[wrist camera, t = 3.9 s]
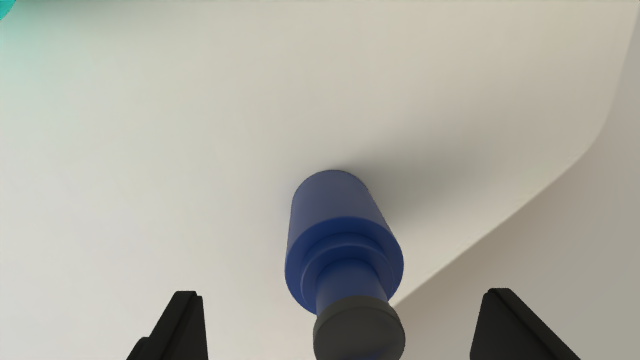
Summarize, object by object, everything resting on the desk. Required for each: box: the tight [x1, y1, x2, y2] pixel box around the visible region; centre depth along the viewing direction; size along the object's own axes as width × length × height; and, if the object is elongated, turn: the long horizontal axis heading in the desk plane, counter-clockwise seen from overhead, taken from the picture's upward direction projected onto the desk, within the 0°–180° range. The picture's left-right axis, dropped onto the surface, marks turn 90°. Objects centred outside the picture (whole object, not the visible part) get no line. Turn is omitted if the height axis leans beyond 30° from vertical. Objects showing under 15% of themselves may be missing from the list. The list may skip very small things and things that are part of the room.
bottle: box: [285, 170, 405, 360], centre depth 15 cm, size 5×5×11 cm
